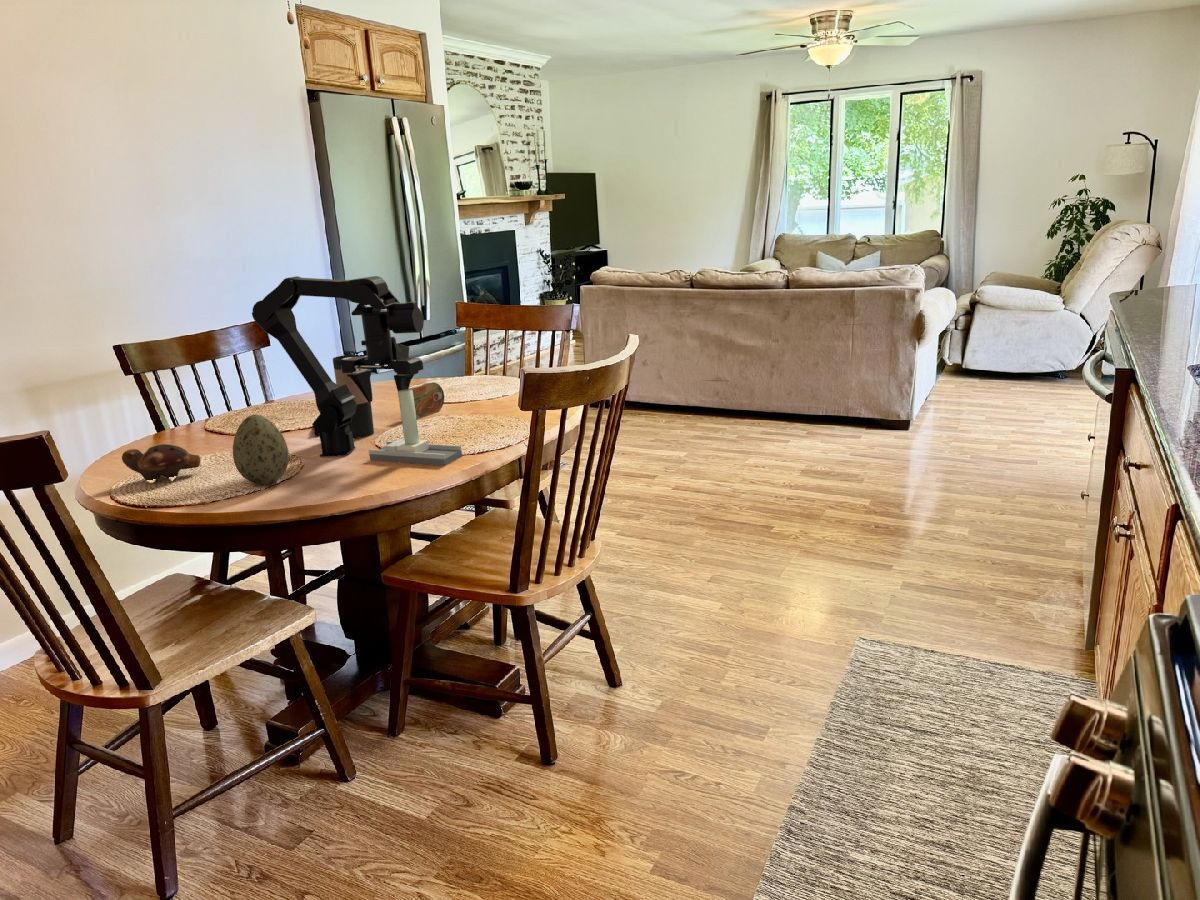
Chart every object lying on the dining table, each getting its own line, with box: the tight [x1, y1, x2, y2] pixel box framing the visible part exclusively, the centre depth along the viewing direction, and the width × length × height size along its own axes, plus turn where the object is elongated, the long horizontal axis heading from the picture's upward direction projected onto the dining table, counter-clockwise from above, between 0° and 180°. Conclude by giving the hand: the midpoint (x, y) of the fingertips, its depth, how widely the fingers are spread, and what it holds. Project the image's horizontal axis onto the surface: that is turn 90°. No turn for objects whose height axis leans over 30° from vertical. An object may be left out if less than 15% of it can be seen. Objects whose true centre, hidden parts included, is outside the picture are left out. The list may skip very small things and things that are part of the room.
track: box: [368, 438, 463, 467], centre depth 185 cm, size 20×7×4 cm, turn 67°
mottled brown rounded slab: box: [409, 381, 445, 420], centre depth 225 cm, size 15×3×8 cm, turn 148°
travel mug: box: [332, 354, 375, 439], centre depth 207 cm, size 8×8×20 cm
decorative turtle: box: [121, 444, 201, 481], centre depth 182 cm, size 10×15×8 cm, turn 120°
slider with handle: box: [396, 389, 430, 453], centre depth 184 cm, size 5×5×14 cm
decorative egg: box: [232, 414, 290, 485], centre depth 173 cm, size 11×11×15 cm
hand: (386, 402), depth 188 cm, fingers open, 9 cm apart
